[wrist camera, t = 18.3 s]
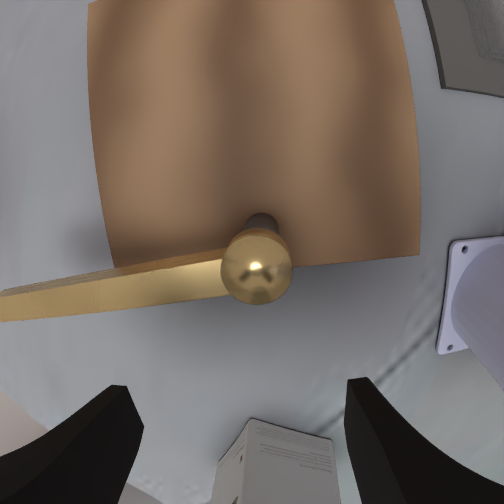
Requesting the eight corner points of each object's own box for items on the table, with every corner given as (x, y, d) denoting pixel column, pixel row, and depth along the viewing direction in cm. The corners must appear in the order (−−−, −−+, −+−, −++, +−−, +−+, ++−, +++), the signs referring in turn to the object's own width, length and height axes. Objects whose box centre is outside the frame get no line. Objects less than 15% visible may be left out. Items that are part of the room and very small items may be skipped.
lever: (284, 222, 11) (286, 231, 9) (295, 283, 11) (297, 298, 10) (0, 280, 12) (-15, 289, 11) (16, 320, 13) (3, 331, 12)
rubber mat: (514, -13, 10) (518, -15, 10) (545, 107, 13) (550, 107, 13) (405, -48, 11) (408, -52, 11) (441, 88, 14) (446, 86, 14)
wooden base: (372, -20, 12) (407, -73, 7) (405, 244, 17) (457, 285, 11) (103, 14, 14) (48, -22, 8) (131, 268, 18) (80, 315, 13)
